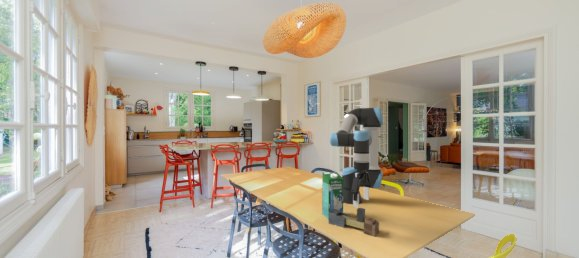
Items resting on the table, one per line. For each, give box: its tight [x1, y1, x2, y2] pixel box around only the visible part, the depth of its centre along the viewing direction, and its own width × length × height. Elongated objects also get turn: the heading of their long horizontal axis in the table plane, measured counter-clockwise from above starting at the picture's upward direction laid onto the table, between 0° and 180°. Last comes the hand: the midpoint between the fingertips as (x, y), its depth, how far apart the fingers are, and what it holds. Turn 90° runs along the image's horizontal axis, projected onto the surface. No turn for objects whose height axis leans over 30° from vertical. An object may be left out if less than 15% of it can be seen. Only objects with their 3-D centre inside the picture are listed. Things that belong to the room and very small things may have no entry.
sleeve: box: [328, 209, 350, 228], centre depth 128 cm, size 6×9×6 cm
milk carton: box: [321, 171, 344, 221], centre depth 138 cm, size 9×9×25 cm
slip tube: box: [341, 207, 367, 230], centre depth 122 cm, size 3×17×9 cm, turn 52°
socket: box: [363, 217, 380, 237], centre depth 117 cm, size 6×5×6 cm
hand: (361, 203), depth 120 cm, fingers open, 13 cm apart
